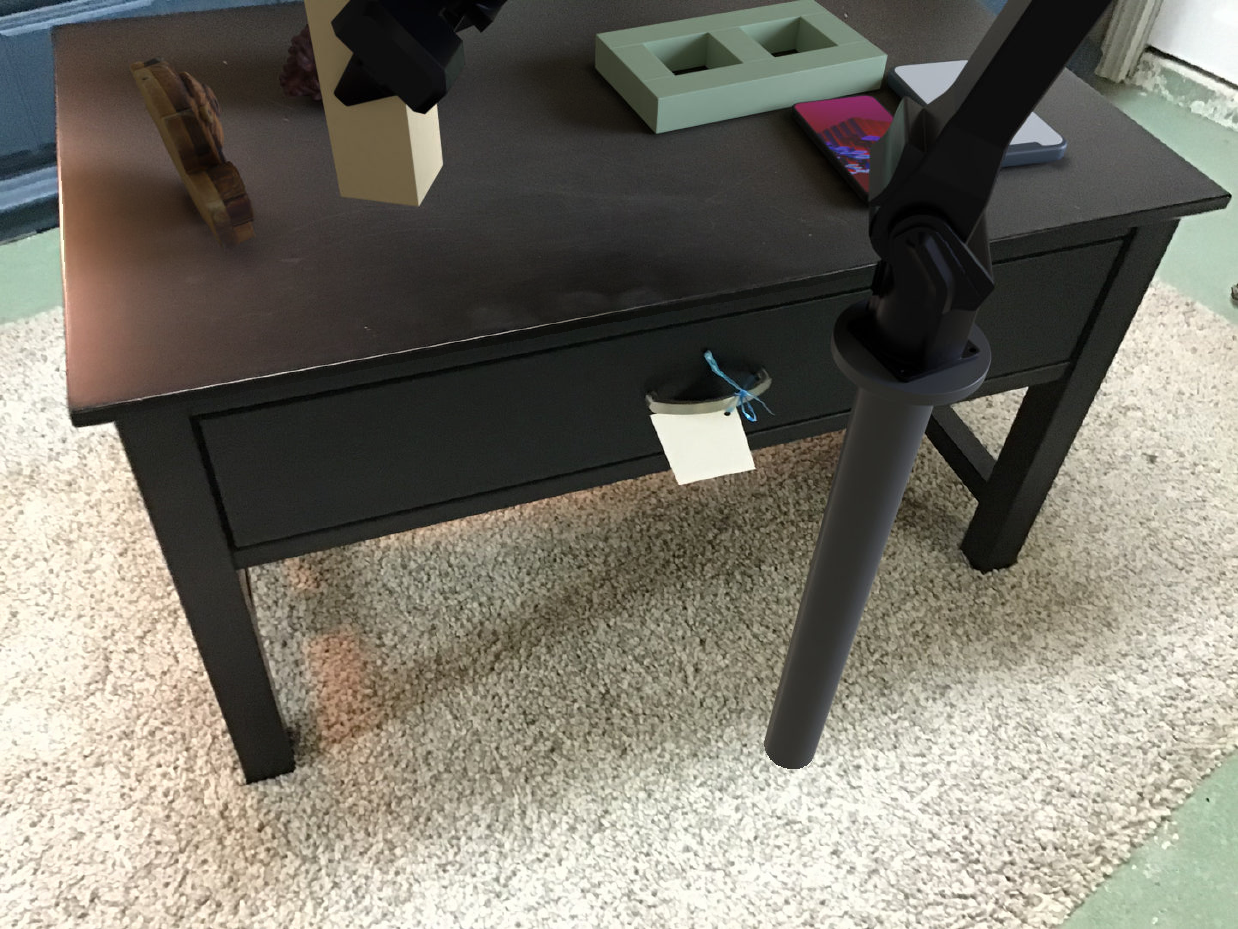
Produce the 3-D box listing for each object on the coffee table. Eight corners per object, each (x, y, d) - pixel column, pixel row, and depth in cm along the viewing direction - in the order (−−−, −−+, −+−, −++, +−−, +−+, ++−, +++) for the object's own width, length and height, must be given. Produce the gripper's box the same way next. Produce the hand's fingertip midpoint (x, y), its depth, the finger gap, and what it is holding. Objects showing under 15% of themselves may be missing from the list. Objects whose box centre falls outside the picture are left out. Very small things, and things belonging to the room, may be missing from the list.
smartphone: (873, 92, 87) (963, 185, 77) (871, 103, 87) (960, 195, 77) (787, 103, 85) (868, 198, 75) (785, 113, 86) (865, 209, 76)
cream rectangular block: (443, 165, 69) (422, -39, 60) (419, 207, 66) (392, -2, 56) (368, 155, 70) (336, -48, 60) (340, 196, 66) (301, -12, 57)
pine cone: (309, 144, 80) (241, 14, 76) (312, 145, 89) (252, 29, 85) (515, 49, 82) (458, -83, 78) (497, 59, 91) (446, -58, 87)
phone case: (879, 83, 90) (967, 175, 80) (883, 65, 89) (972, 156, 78) (971, 74, 92) (1069, 163, 81) (976, 56, 91) (1076, 144, 80)
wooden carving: (292, 255, 70) (259, 117, 63) (226, 278, 68) (184, 138, 61) (203, 149, 79) (166, 18, 72) (143, 166, 77) (98, 33, 70)
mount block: (880, 88, 89) (887, 54, 87) (655, 134, 83) (658, 98, 81) (806, 30, 97) (811, -2, 95) (595, 68, 90) (595, 33, 88)
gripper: (463, -284, 57) (308, -86, 66) (340, -188, 44) (168, 41, 53) (603, -113, 62) (440, 49, 71) (528, 18, 49) (341, 196, 58)
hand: (357, 77), depth 63 cm, fingers closed on cream rectangular block, 5 cm apart
